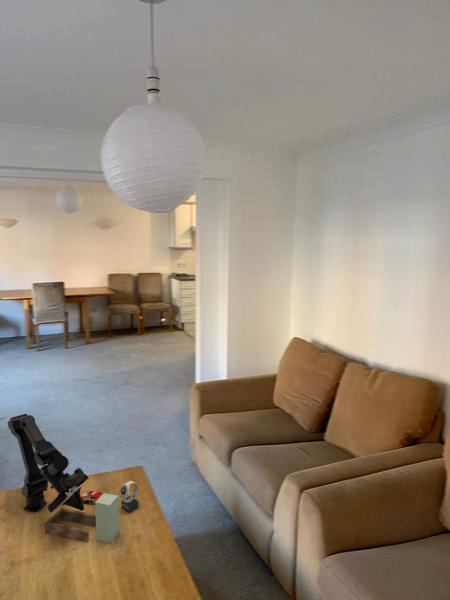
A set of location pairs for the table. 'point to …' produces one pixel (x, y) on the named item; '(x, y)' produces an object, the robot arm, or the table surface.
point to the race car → (91, 497)
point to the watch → (129, 502)
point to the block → (107, 518)
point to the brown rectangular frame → (67, 531)
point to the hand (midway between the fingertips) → (83, 509)
